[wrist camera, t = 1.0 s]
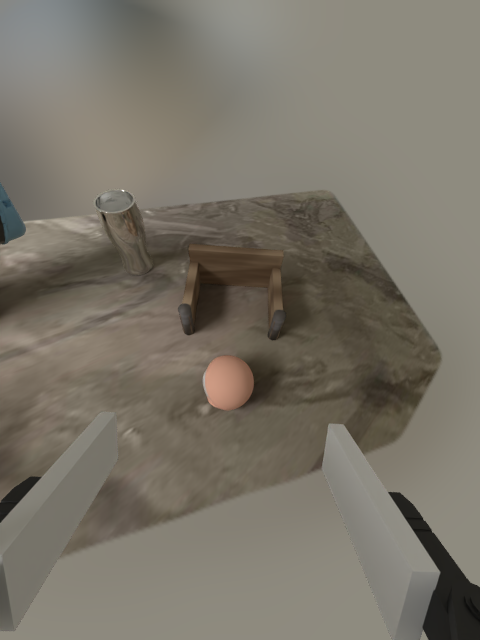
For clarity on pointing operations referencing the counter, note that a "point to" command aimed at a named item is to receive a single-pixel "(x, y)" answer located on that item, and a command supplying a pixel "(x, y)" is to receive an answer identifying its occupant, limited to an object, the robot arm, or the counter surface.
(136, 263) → the beer glass
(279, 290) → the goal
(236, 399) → the toy ball
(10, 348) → the counter surface
